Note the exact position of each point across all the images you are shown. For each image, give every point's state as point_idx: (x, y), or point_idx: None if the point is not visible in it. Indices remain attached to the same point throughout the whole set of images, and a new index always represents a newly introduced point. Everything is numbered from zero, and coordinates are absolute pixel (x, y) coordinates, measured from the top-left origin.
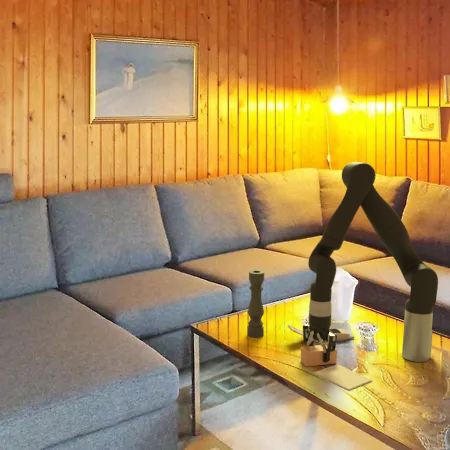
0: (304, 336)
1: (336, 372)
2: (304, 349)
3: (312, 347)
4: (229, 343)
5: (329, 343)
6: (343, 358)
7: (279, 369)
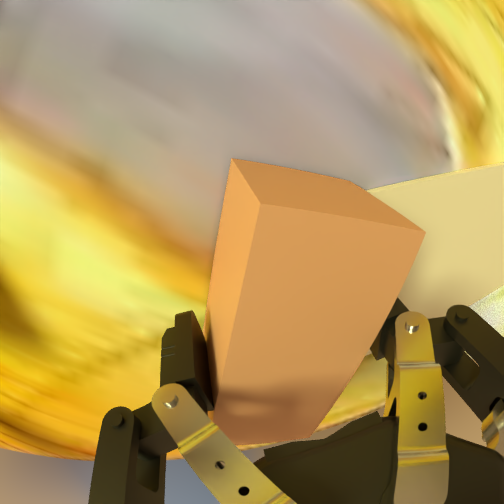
0: (151, 484)
1: (432, 261)
2: (261, 441)
3: (253, 406)
4: (11, 445)
5: (481, 405)
6: (284, 53)
7: None
